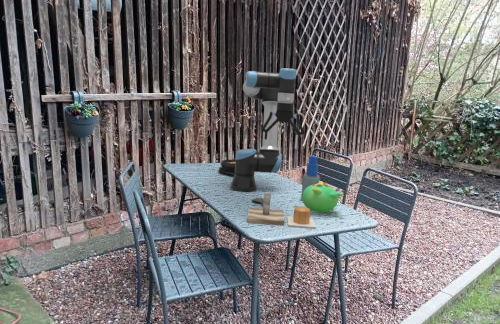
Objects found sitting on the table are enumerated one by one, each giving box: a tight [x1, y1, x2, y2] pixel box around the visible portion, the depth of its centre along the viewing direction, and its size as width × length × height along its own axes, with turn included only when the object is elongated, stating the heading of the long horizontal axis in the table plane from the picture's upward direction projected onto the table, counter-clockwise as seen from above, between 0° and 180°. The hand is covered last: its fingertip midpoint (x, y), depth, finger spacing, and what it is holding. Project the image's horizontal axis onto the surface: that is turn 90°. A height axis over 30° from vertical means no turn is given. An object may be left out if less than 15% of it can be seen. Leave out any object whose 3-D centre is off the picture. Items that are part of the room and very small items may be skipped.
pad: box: [286, 215, 317, 230], centre depth 173 cm, size 12×12×1 cm
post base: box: [247, 191, 285, 226], centre depth 175 cm, size 16×16×12 cm
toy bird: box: [301, 180, 344, 213], centre depth 191 cm, size 18×17×15 cm
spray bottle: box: [300, 154, 321, 202], centre depth 208 cm, size 9×9×25 cm
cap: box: [292, 205, 311, 224], centre depth 172 cm, size 7×7×6 cm
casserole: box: [218, 159, 236, 176], centre depth 263 cm, size 25×19×8 cm
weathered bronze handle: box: [251, 197, 264, 205], centre depth 194 cm, size 22×3×7 cm
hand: (281, 147), depth 182 cm, fingers open, 13 cm apart
